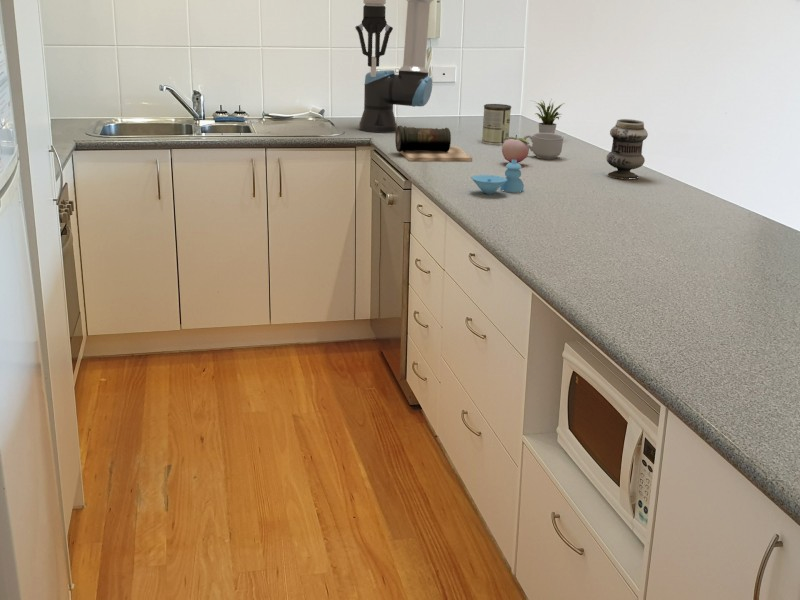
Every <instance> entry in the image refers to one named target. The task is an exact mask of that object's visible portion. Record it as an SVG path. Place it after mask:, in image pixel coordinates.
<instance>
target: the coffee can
mask: <svg viewBox="0 0 800 600" xmlns="http://www.w3.org/2000/svg"><path fill="white" fill-rule="evenodd" d="M483 107H484V108H483V119H482V120H483V124H482V137H481V138H482V140H481V143H482V144H486V145H492V146H493V145H494V146H503V143H504V142H505V141H506V140H507V139H505V140H503V139H504V138H506V137H510V125H511V123H510V121H511V112H512V106H511V105H509V104H503V103H487V104H484V105H483ZM508 139H509V138H508Z"/></svg>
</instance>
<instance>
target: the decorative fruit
mask: <svg viewBox="0 0 800 600" xmlns="http://www.w3.org/2000/svg"><path fill="white" fill-rule="evenodd" d="M517 137H518V135H517V134H515V137H513V136H509V137H506V138H504V139H503V140H505V139H507V140H506V141H505V142H504V143H503V145H501V152H502V153H501V154H502V156H503V158H504V159H505V160H506V161H508V163H512V160H517V163H518V164H520V163H521V162H523V161H524V160H525V159H527V157H528V155H529V153H530V149H529V146H528V145H530V143H529V141H528V140H527V139H526V140H525V139H524V138H521V137H518V138H517ZM508 138H509V139H508Z"/></svg>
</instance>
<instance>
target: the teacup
mask: <svg viewBox="0 0 800 600" xmlns="http://www.w3.org/2000/svg"><path fill="white" fill-rule="evenodd" d="M564 137H565V136H563V135H562V134H559V133H558V134H557V133H554V134H553V133H539V132H535V133H534V134H533V135H532V134H526V135H524V137H523V139H525V140H527V138H530V140H531V143H532V145H530V144H528V146H529V151H531V152H532V153H533V154H534V156H535V157H536V158H538V159H543V160H555V159H556V158H557V157H559V156H561V153H562V149H563V144H564V143H563V142H564Z"/></svg>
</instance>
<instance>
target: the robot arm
mask: <svg viewBox="0 0 800 600" xmlns="http://www.w3.org/2000/svg"><path fill="white" fill-rule="evenodd" d="M406 1H407V9H406V21H405V32H404V33H405V35H404V36H405V37H404V49H403V62H402V63H403V64H402V66H401V67H399V69H398V74H396V73H395V70H392V69H391V70H390V69H388V70H386V69H385V70H377V67H378V68H379V67H380V58H381V57H382V56H384V55H386V50H387V46H388V43H389V40H390V35H391V33H392V31H393V27H392V26H390V25H389V24H387V23H388V22H387V20H386V8H387V7H386V6H385V5H386V3H387V2H386V0H363V4H364V5H363V8H362V9H363V11H362V12H363V13H362V14H363V15H362V20H361V23H360V24H358V25H356V26H355V27H354V28H355V31H356V32H357V33H358V39H359V42H360V48H361V52H362V54H363V55H364V56H366V57H367V66H368V67H370V71H369V72H367V73H366V74H365V76H364V84H363V85H364V91H363V92H364V93H363V94H364V95H363V96H364V97H363V99H364V103H363V105H364V106H363V112H362V115H361V117H360V122H359V125H358V128H359V130H360V131H363V132H369V133H393V132H396V129H397V127H398V125H397V122H396V118H395V117H396V116H395V113H394V105H397V106H406V107H407V106H408V107H414V108H415V107H425V106H426V105H427V103H428V102H429V100H430V97H431V94H432V90H433V79H432V77H431V76H430V75H429V71H428V70H427V68H426V58H427V57H426V56H427V45H428V42H427V41H428V30H429V21H430V17H429V16H430V8H431V7H430V5H431V3H432V2H433V1H434V0H406ZM364 30H365V31H366V33H367V47H366V42H365V39H364V34H363V33H364V32H363V31H364ZM383 30H384V31H385V33H384V37H383V39H382V40H383V41H382V43H381V33H382V32H383ZM373 34H374V35H373ZM373 36H375V41H374V56H373Z"/></svg>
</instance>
